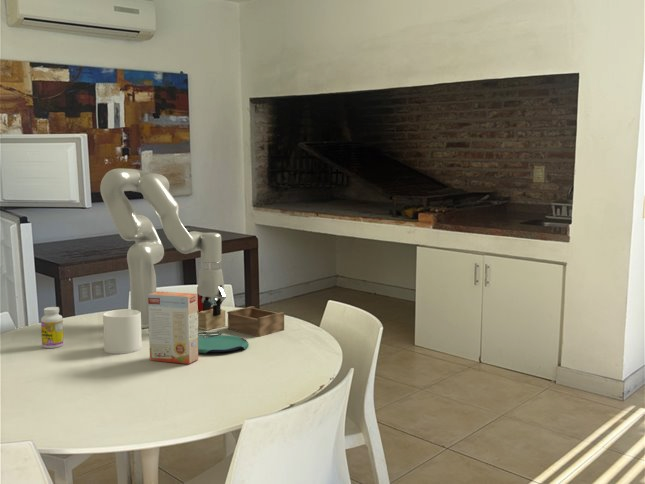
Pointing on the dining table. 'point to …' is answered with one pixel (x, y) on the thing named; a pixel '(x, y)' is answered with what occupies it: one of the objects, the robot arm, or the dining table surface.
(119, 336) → the cup
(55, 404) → the dining table surface
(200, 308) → the beverage can
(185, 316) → the cracker box
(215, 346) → the cutlery set
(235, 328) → the walnut crate
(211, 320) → the oak crate
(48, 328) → the supplement bottle
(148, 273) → the robot arm
